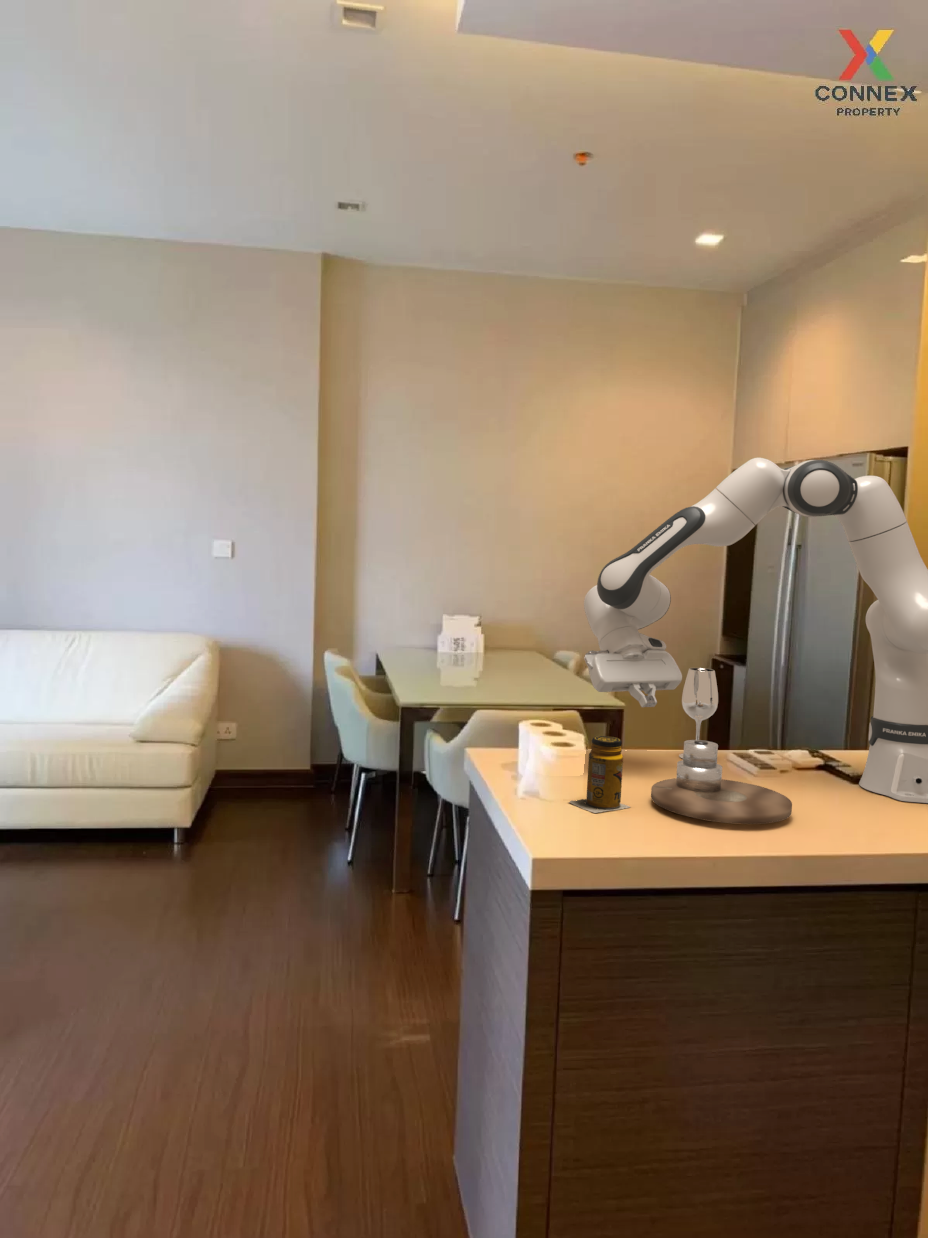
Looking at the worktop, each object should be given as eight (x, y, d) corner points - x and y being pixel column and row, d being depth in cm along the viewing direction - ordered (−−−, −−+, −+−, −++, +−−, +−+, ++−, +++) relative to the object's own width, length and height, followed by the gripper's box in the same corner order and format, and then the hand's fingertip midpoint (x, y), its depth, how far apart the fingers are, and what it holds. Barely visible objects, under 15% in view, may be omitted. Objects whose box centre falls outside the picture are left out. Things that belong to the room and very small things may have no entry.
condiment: (630, 807, 156) (634, 741, 155) (594, 814, 151) (598, 745, 150) (602, 797, 162) (606, 733, 161) (567, 803, 157) (570, 736, 156)
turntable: (791, 795, 164) (792, 787, 164) (791, 832, 141) (792, 823, 141) (660, 779, 172) (661, 771, 172) (641, 811, 150) (641, 802, 150)
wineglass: (671, 754, 200) (677, 667, 198) (701, 753, 202) (707, 667, 200) (690, 762, 192) (696, 672, 191) (721, 761, 194) (727, 671, 193)
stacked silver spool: (722, 784, 164) (725, 740, 164) (719, 794, 157) (722, 748, 156) (678, 778, 167) (681, 735, 167) (673, 788, 160) (676, 743, 159)
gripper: (588, 641, 177) (612, 697, 169) (670, 641, 186) (698, 694, 178) (575, 660, 182) (598, 716, 173) (656, 659, 190) (682, 712, 182)
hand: (649, 705), depth 176 cm, fingers closed
